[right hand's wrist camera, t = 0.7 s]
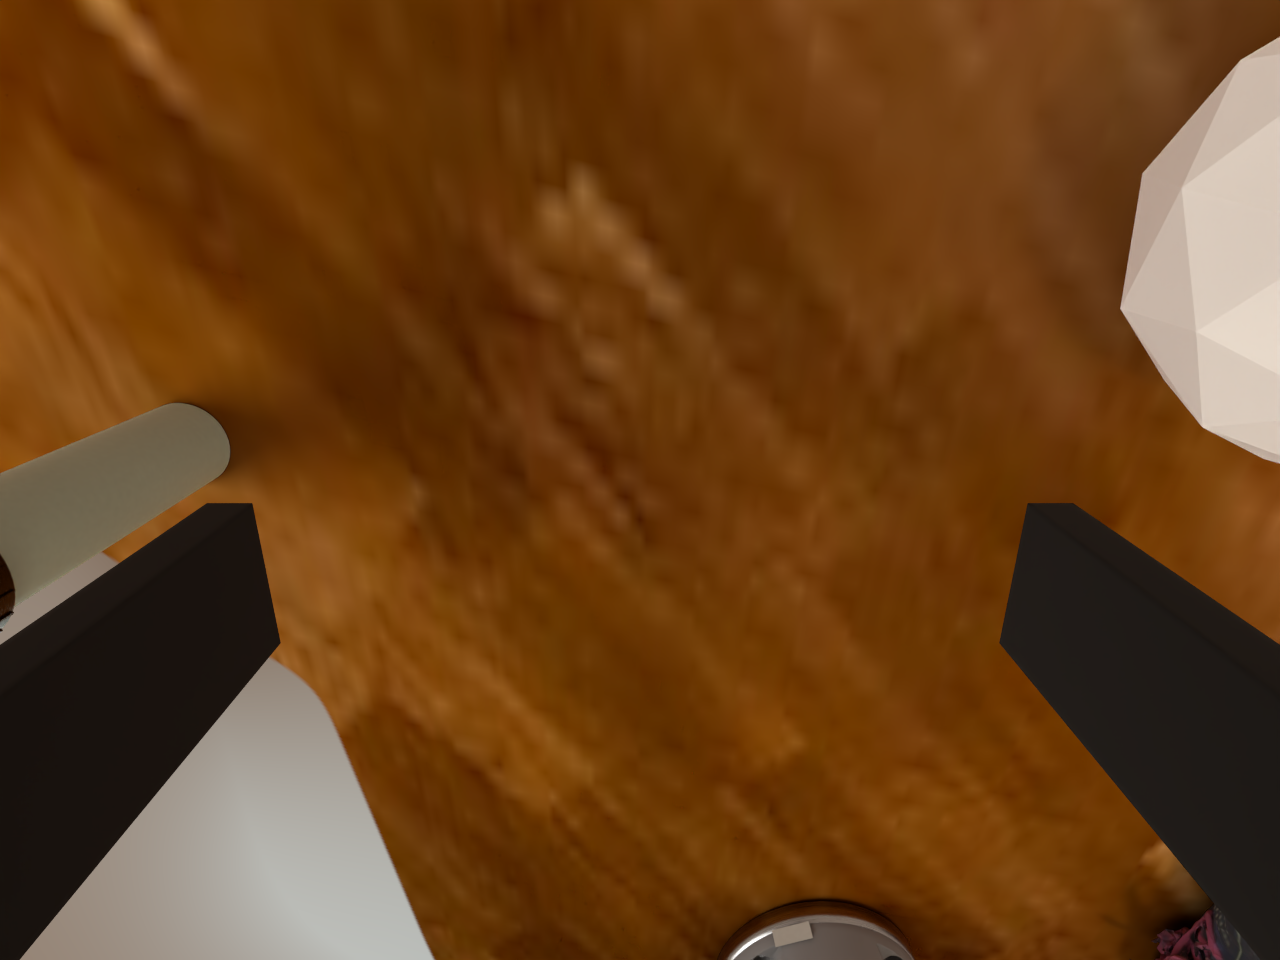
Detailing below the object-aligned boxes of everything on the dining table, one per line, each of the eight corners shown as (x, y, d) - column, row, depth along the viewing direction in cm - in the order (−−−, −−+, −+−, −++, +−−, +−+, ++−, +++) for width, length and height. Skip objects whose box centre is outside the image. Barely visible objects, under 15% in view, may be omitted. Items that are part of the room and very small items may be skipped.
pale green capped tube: (246, 439, 41) (-14, 593, 25) (204, 499, 42) (-69, 682, 26) (169, 385, 40) (-156, 508, 24) (129, 448, 41) (-206, 606, 25)
